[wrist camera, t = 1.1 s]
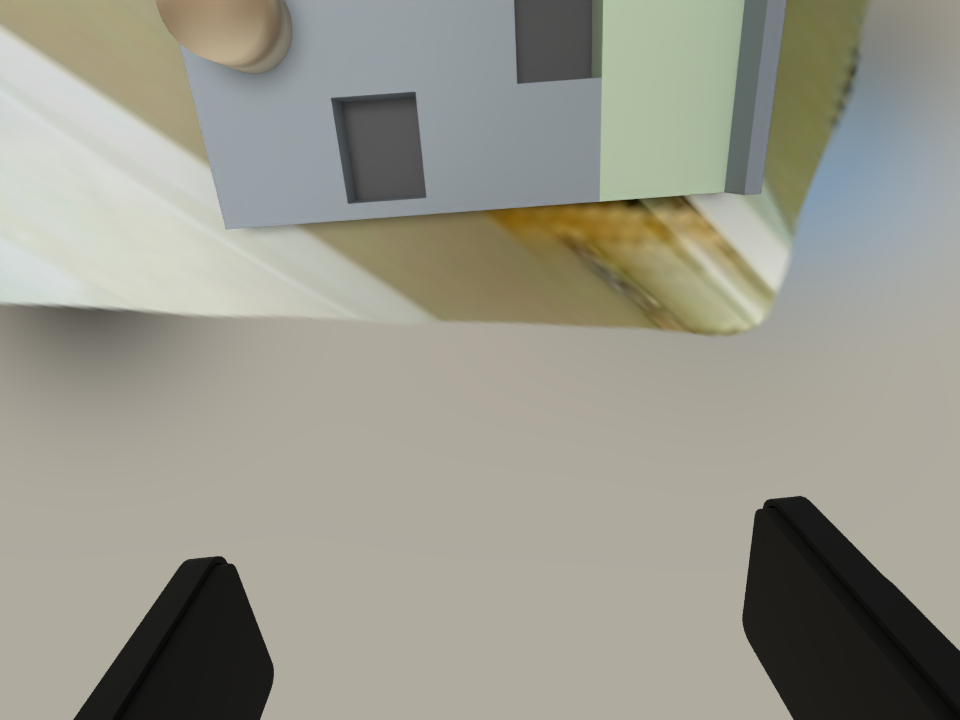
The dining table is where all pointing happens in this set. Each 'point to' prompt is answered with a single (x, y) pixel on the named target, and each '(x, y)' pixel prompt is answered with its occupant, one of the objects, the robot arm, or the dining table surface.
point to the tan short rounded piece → (231, 31)
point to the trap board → (491, 107)
